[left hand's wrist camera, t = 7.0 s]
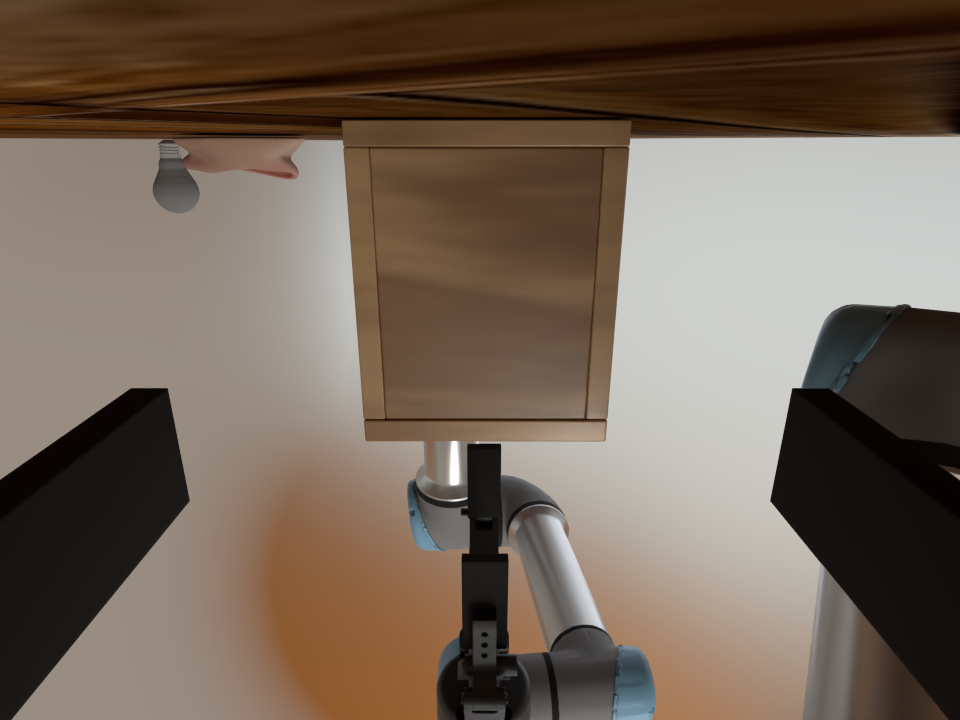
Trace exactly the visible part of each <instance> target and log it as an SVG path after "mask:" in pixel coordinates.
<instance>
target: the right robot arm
mask: <svg viewBox="0 0 960 720" xmlns="http://www.w3.org/2000/svg"><path fill="white" fill-rule="evenodd" d="M424 460H425V463H424V464H423V465H422V466H421V467H420V468H419V469H418V471H417V474H416V479H414V480H411V481H409V483H408V490H407V493H408V508H409V513H410V524H411V529H412V533H413V537H414V540H415V543H416V544H417V546H418V547H419V548H421V549H423V550H439V551H445V550H446V549H462V548H469V554H462V626H463V627H462V629H461V631H460V635H459V637H458V638H456V639H454V640H452V641H451V642H450V643H449V644H448V645H447V646H446V647H445V649H444V650H443V652H442V654H441V656H440V659H439V665H438V682H437V716H438V720H651V719H652V718H653V715H654V712H655V686H654V681H653V676H652V672H651V669H650V666H649V663H648V661H647V658H646V657H645V655H644V654H643V652H642V651H641V650H639V649H638V648H636V647H634V646H622V645H618V646H617V647H615V645H614V644H613V642H612V639H611V637H610V635H609V633H608V631H607V628H606V626H605V624H604V621H603V619H602V617H601V614H600V612H599V610H598V608H597V605H596V603H595V601H594V599H593V596H592V594H591V592H590V589H589V587H588V585H587V582H586V580H585V578H584V576H583V573H582V571H581V569H580V566H579V564H578V562H577V560H576V557H575V555H574V553H573V551H572V548H571V546H570V544H569V541H568V535H569V527H568V523H567V521H566V519H565V516H564V514H563V512H562V510H561V509H560V507H559V506H558V505H557V503H556V502H555V501H554V500H553V499H552V498H551V497H550V496H549V495H547V494H546V493H545V492H543V491H542V490H541V489H540V488H538V487H536V486H535V485H533V484H531V483H529V482H527V481H525V480H523V479H520V478H516V477H513V476H506V475H501V444H479V441H424ZM500 546H501V547H502V546H509V547H512V549H513V550H514V551H515V552H516V553H517V554H518V555H519V556H520V558H521V561H522V565H523V568H524V572H525V575H526V579H527V583H528V586H529V590H530V593H531V597H532V600H533V604H534V607H535V611H536V615H537V618H538V622H539V625H540V629H541V632H542V636H543V639H544V643H545V646H546V650H547V652H543V653H529V654H508V652H509V635H508V631H507V608H508V554H498V547H500Z"/></svg>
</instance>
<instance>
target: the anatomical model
mask: <svg viewBox="0 0 960 720" xmlns="http://www.w3.org/2000/svg"><path fill="white" fill-rule="evenodd" d="M172 140H173V141H174V142H175V143H176V144H178V145H179V146H181V147H183V148H184V149H186V150H187V151H188V152H189V154H188V155H187V156H186V157H185V158H184V159H183V166H184V167H185V168H187V169H191V170H199V171H203V172H208V173H217V172H223V171H229V170H237V169H238V170H244V171H249V172H255V173H260V174H264V175H268V176H273V177H277V178H283V179H296V178H297V177H298V175H299V173H298V169H297V167H296V166H295V165H294V163H293V162H292V161H291V156H292V154H293V153H294V152H295V151H296V150H297V148H298V147H299V146H300V145H301V144H302V143H303V141H304V140H305V138H298V137H175V138H172Z"/></svg>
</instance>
